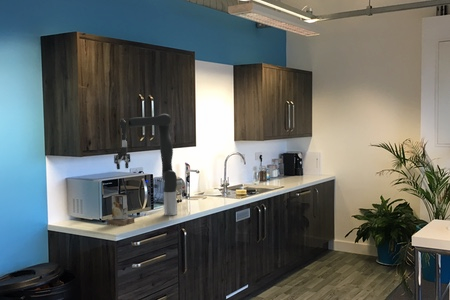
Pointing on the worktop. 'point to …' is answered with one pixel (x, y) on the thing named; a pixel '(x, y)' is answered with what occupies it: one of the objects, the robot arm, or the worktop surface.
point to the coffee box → (119, 207)
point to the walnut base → (120, 221)
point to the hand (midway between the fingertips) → (122, 168)
